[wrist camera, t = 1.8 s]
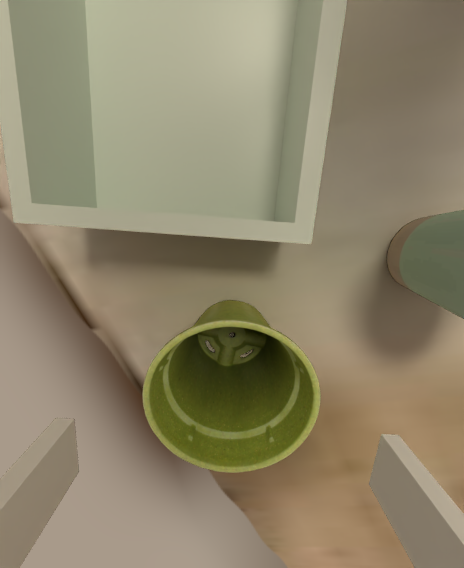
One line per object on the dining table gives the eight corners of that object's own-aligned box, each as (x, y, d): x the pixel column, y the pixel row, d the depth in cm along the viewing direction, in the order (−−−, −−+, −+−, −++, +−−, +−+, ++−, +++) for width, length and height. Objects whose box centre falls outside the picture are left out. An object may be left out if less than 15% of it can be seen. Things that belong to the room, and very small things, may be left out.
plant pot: (219, 397, 23) (213, 498, 14) (155, 320, 21) (104, 386, 12) (304, 344, 22) (352, 421, 13) (244, 258, 20) (255, 284, 11)
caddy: (67, -153, 14) (-87, -512, 7) (325, -125, 14) (412, -442, 7) (91, 223, 19) (13, 222, 12) (282, 237, 19) (311, 244, 12)
